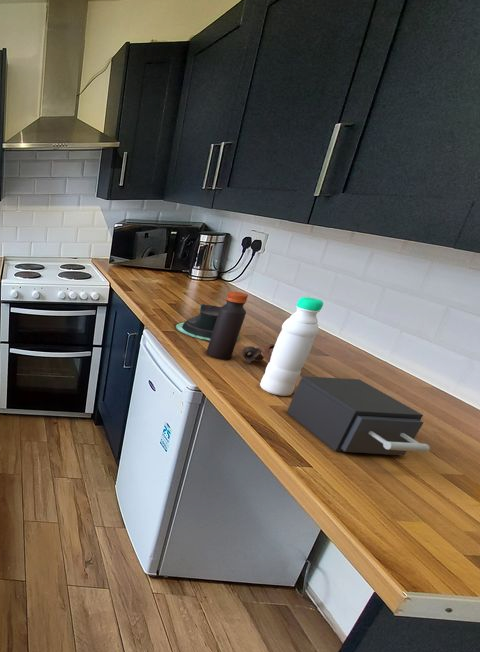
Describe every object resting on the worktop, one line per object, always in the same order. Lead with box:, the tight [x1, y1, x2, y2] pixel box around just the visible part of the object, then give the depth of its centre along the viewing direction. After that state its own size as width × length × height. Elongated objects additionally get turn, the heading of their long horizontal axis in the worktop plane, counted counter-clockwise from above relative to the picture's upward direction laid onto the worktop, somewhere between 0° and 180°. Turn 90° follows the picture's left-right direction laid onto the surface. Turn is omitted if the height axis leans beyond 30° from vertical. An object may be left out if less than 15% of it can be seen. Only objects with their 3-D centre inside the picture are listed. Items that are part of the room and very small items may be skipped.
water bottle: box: [259, 296, 324, 397], centre depth 100 cm, size 7×7×25 cm
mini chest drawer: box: [341, 415, 431, 456], centre depth 83 cm, size 19×12×8 cm, turn 177°
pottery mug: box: [241, 343, 276, 365], centre depth 117 cm, size 12×10×8 cm
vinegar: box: [206, 291, 249, 361], centre depth 121 cm, size 7×7×20 cm
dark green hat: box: [175, 303, 240, 341], centre depth 143 cm, size 15×19×20 cm
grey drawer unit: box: [286, 375, 424, 456], centre depth 87 cm, size 15×13×10 cm
